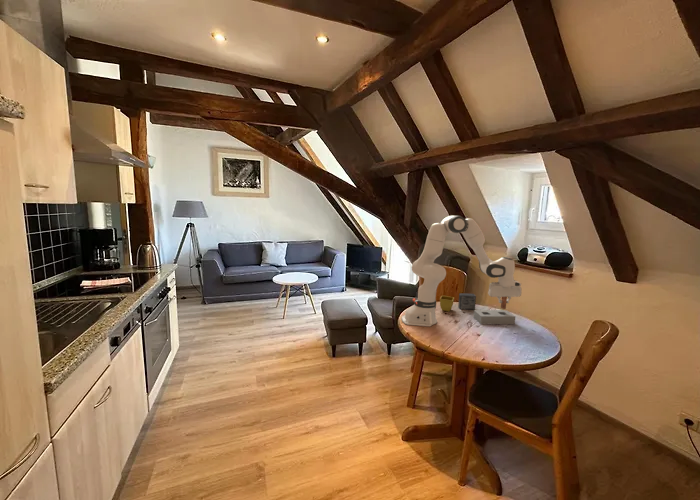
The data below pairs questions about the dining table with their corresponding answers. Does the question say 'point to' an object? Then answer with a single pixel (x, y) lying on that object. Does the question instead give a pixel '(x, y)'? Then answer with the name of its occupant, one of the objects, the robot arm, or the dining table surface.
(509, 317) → the hole block
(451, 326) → the dining table surface
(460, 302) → the small box
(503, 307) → the peg
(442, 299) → the flower pot
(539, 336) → the dining table surface
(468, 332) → the dining table surface
